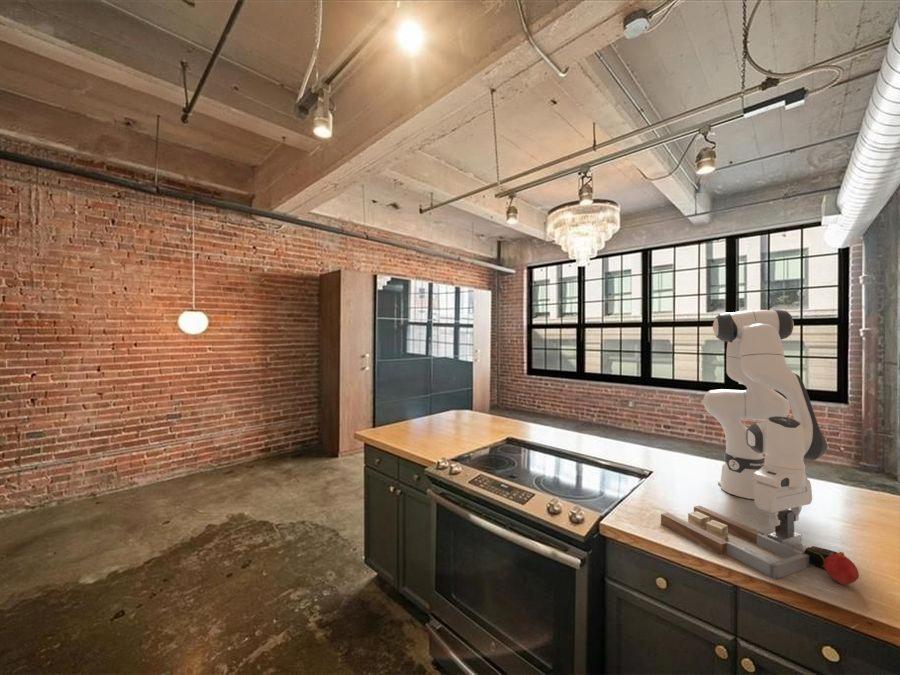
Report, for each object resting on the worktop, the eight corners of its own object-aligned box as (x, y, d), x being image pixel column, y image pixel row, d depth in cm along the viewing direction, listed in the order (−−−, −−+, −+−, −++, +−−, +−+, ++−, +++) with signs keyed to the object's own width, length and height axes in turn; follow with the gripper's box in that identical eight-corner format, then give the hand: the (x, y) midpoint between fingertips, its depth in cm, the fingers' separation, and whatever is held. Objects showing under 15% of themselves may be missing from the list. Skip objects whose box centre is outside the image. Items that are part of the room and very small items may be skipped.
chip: (712, 532, 114) (712, 519, 114) (727, 538, 110) (727, 525, 110) (706, 536, 111) (706, 522, 112) (721, 542, 108) (721, 528, 108)
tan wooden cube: (696, 523, 119) (696, 511, 119) (709, 529, 115) (709, 516, 115) (688, 525, 118) (688, 513, 118) (700, 531, 114) (700, 518, 114)
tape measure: (850, 568, 94) (846, 552, 95) (833, 573, 92) (829, 557, 93) (817, 558, 101) (813, 543, 101) (800, 563, 98) (797, 548, 99)
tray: (759, 544, 107) (759, 533, 107) (809, 567, 96) (809, 555, 96) (726, 553, 102) (726, 542, 102) (775, 579, 91) (775, 566, 91)
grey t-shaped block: (786, 540, 109) (786, 505, 109) (801, 546, 106) (801, 510, 106) (767, 546, 106) (767, 509, 106) (782, 552, 103) (782, 515, 103)
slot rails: (700, 514, 125) (699, 505, 125) (763, 543, 107) (763, 533, 108) (660, 523, 119) (661, 513, 119) (721, 555, 101) (721, 544, 101)
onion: (817, 577, 92) (817, 545, 92) (837, 576, 93) (837, 544, 93) (843, 593, 86) (843, 559, 86) (865, 591, 87) (865, 557, 87)
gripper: (793, 467, 113) (793, 512, 113) (749, 474, 106) (749, 523, 106) (819, 474, 107) (819, 521, 107) (774, 482, 100) (775, 533, 100)
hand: (784, 522), depth 106 cm, fingers open, 7 cm apart
